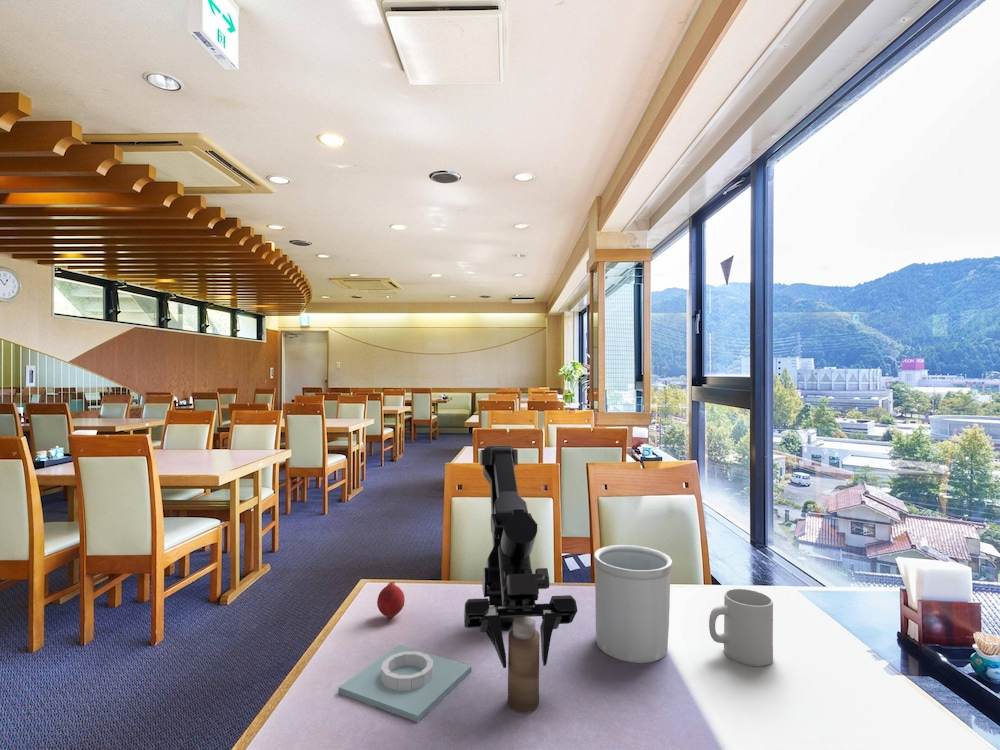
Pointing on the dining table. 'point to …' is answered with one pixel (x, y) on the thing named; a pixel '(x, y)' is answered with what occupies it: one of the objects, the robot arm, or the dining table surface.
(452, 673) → the board
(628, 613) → the utensil holder
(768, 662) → the mug
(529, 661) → the pepper mill
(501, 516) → the robot arm
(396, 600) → the onion
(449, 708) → the dining table surface
